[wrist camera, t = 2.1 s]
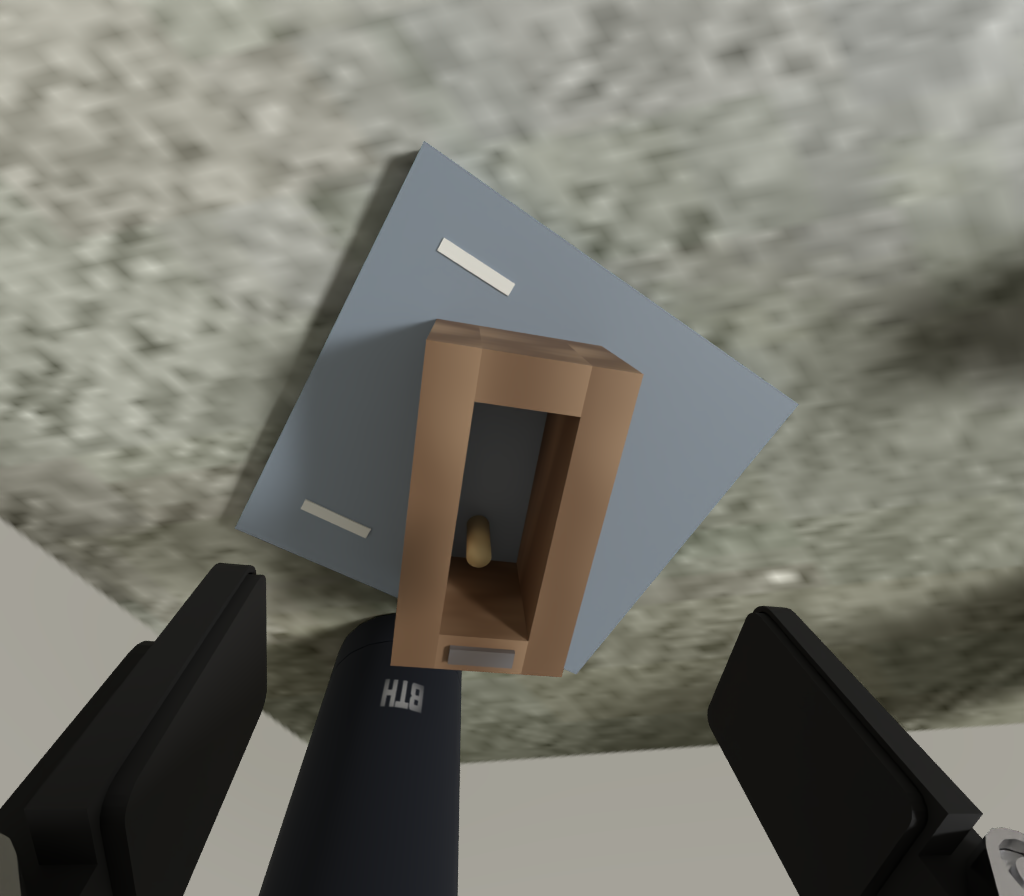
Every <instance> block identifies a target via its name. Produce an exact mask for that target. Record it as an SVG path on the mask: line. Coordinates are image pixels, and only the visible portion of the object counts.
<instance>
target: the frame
mask: <svg viewBox="0 0 1024 896" xmlns="http://www.w3.org/2000/svg"><path fill="white" fill-rule="evenodd" d="M643 375H644V374H642V373H641V372H640V371H638V370H637V369H635V368H634V367H632V366H631V365H629V364H628V363H626V362H625V361H623V360H622V359H620V358H619V357H617V356H616V355H614V354H613V353H611V352H610V351H608V350H607V349H605V348H604V347H602V346H599V345H593V344H587V343H581V342H575V341H569V340H563V339H557V338H551V337H545V336H539V335H533V334H527V333H521V332H515V331H508V330H502V329H496V328H490V327H484V326H478V325H472V324H466V323H460V322H454V321H448V320H442V319H437V320H436V322H435V324H434V325H433V327H432V329H431V331H430V333H429V335H428V337H427V339H426V346H425V355H424V364H423V373H422V383H421V392H420V401H419V410H418V419H417V428H416V437H415V446H414V455H413V465H412V474H411V483H410V492H409V501H408V510H407V519H406V528H405V537H404V547H403V556H402V565H401V574H400V583H399V592H398V601H397V610H396V619H395V629H394V638H393V647H392V656H391V665H390V666H405V667H420V668H435V669H449V670H464V671H479V672H494V673H508V674H523V675H538V676H553V677H562V673H563V670H564V666H565V662H566V659H567V655H568V651H569V647H570V644H571V640H572V636H573V633H574V629H575V625H576V622H577V618H578V614H579V611H580V607H581V603H582V600H583V596H584V592H585V589H586V585H587V581H588V577H589V574H590V570H591V566H592V563H593V559H594V555H595V552H596V548H597V544H598V541H599V537H600V533H601V530H602V526H603V522H604V518H605V515H606V511H607V507H608V504H609V500H610V496H611V493H612V489H613V485H614V482H615V478H616V474H617V471H618V467H619V463H620V459H621V456H622V452H623V448H624V445H625V441H626V437H627V434H628V430H629V426H630V423H631V419H632V415H633V412H634V408H635V404H636V400H637V397H638V393H639V389H640V386H641V382H642V378H643ZM474 402H480V403H487V404H493V405H500V406H507V407H514V408H521V409H528V410H535V411H542V412H548V413H547V417H546V422H545V427H544V432H543V437H542V442H541V446H540V451H539V456H538V461H537V466H536V471H535V475H534V480H533V485H532V490H531V495H530V500H529V504H528V509H527V514H526V519H525V524H524V529H523V533H522V538H521V543H520V548H519V553H518V558H517V562H516V563H513V562H503V561H493V560H491V561H490V562H489V564H488V565H486V566H484V567H480V568H477V567H473V566H471V565H470V564H469V563H468V562H467V559H466V558H463V557H453V556H451V553H452V546H453V540H454V533H455V526H456V520H457V513H458V507H459V500H460V493H461V487H462V480H463V473H464V467H465V460H466V453H467V447H468V440H469V434H470V427H471V420H472V414H473V407H474Z"/></svg>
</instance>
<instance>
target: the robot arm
mask: <svg viewBox="0 0 1024 896" xmlns="http://www.w3.org/2000/svg"><path fill="white" fill-rule="evenodd" d="M266 692H267V650H266V578H265V576H264V575H256V570H255V567H254V566H251V565H239V564H226V563H218V564H216V565H215V566H214V567H213V568H212V569H211V570H210V571H209V573H208V574H207V575H206V576H205V578H204V579H203V580H202V582H201V583H200V584H199V585H198V587H197V588H196V589H195V591H194V592H193V593H192V594H191V596H190V597H189V598H188V600H187V601H186V602H185V603H184V605H183V606H182V607H181V608H180V610H179V611H178V612H177V614H176V615H175V616H174V617H173V619H172V620H171V621H170V623H169V624H168V625H167V626H166V628H165V629H164V630H163V632H162V633H161V634H160V635H159V637H158V638H157V639H156V641H143V642H141V643H139V644H137V645H136V646H135V647H134V648H133V649H132V650H131V651H130V652H129V653H128V654H127V656H126V657H125V658H124V659H123V660H122V662H121V663H120V664H119V665H118V667H117V668H116V669H115V670H114V671H113V673H112V674H111V675H110V676H109V678H108V679H107V680H106V681H105V682H104V683H103V685H102V686H101V687H100V688H99V690H98V691H97V692H96V693H95V694H94V696H93V697H92V698H91V699H90V701H89V702H88V703H87V704H86V705H85V707H84V708H83V709H82V710H81V711H80V713H79V714H78V715H77V716H76V718H75V719H74V720H73V721H72V722H71V724H70V725H69V726H68V727H67V728H66V730H65V731H64V732H63V733H62V735H61V736H60V737H59V738H58V739H57V741H56V742H55V743H54V744H53V745H52V747H51V748H50V749H49V750H48V752H47V753H46V754H45V755H44V757H43V758H42V759H41V760H40V761H39V762H38V764H37V765H36V766H35V767H34V769H33V770H32V771H31V772H30V773H29V775H28V776H27V777H26V778H25V780H24V781H23V782H22V783H21V784H20V785H19V787H18V788H17V789H16V790H15V792H14V793H13V794H12V795H11V797H10V798H9V799H8V800H7V801H6V802H5V804H4V805H3V806H2V807H1V809H0V896H183V894H184V892H185V890H186V887H187V885H188V883H189V880H190V878H191V876H192V873H193V871H194V869H195V866H196V864H197V862H198V859H199V857H200V855H201V852H202V850H203V848H204V845H205V843H206V841H207V838H208V836H209V834H210V831H211V829H212V827H213V824H214V822H215V820H216V817H217V815H218V812H219V810H220V808H221V805H222V803H223V801H224V799H225V796H226V794H227V791H228V789H229V787H230V784H231V782H232V780H233V777H234V775H235V773H236V770H237V768H238V766H239V764H240V761H241V759H242V757H243V754H244V752H245V750H246V747H247V745H248V743H249V740H250V738H251V736H252V733H253V731H254V729H255V726H256V724H257V722H258V719H259V717H260V715H261V712H262V709H263V706H264V703H265V698H266ZM707 715H708V722H709V726H710V728H711V730H712V732H713V734H714V736H715V738H716V739H717V741H718V743H719V745H720V747H721V749H722V751H723V753H724V755H725V756H726V758H727V760H728V762H729V764H730V766H731V768H732V770H733V771H734V773H735V775H736V777H737V779H738V781H739V783H740V784H741V786H742V788H743V790H744V792H745V794H746V796H747V798H748V800H749V801H750V803H751V805H752V807H753V809H754V811H755V813H756V815H757V817H758V818H759V820H760V822H761V824H762V826H763V827H764V830H765V832H766V833H767V835H768V837H769V839H770V841H771V843H772V845H773V847H774V848H775V850H776V852H777V854H778V856H779V858H780V860H781V861H782V864H783V865H784V867H785V869H786V871H787V873H788V875H789V877H790V878H791V880H792V882H793V884H794V886H795V888H796V890H797V892H798V894H799V896H1024V834H1023V833H1021V832H1019V831H1015V830H1012V829H1007V828H1003V827H1001V828H992V829H991V830H990V831H989V832H988V833H987V834H986V835H985V837H984V838H983V839H982V838H981V837H980V836H979V835H978V834H977V833H976V831H975V830H974V829H973V828H972V827H973V826H974V825H975V823H976V822H977V821H978V820H979V818H980V817H981V815H982V814H983V813H982V812H981V811H980V810H979V809H978V808H977V807H976V806H975V805H974V804H973V803H972V802H971V801H970V799H969V798H968V797H967V796H966V795H965V794H964V793H963V792H962V791H961V790H960V789H959V788H958V787H957V786H956V785H955V784H954V782H953V781H952V780H951V779H950V778H949V777H948V776H947V775H946V774H945V773H944V772H943V771H942V770H941V768H940V767H938V765H937V764H935V762H934V761H933V760H932V759H931V758H930V757H929V756H928V755H927V754H926V752H925V751H924V750H923V749H922V748H921V747H920V746H919V745H918V744H917V743H916V742H915V741H914V740H913V739H912V737H911V736H909V734H908V733H907V732H906V731H905V730H904V729H903V728H902V727H901V726H900V725H899V724H898V723H897V721H896V720H895V719H894V718H893V717H892V716H891V715H890V714H889V713H888V712H887V711H886V710H885V709H884V708H883V707H882V705H881V704H880V703H879V702H878V701H877V700H876V699H875V698H874V697H873V696H872V695H871V694H870V693H869V692H868V691H867V689H866V688H865V687H864V686H863V685H862V684H861V683H860V682H859V681H858V680H857V679H856V678H855V677H854V676H853V674H852V673H851V672H850V671H849V670H848V669H847V668H846V667H845V666H844V665H843V664H842V663H841V662H840V661H839V660H838V658H837V657H836V656H835V655H834V654H833V653H832V652H831V651H830V650H829V649H828V648H827V647H826V646H825V645H824V644H823V642H822V641H821V640H820V639H819V638H818V637H817V636H816V635H815V634H814V633H813V632H812V631H811V630H810V629H809V628H808V626H807V625H806V624H805V623H804V622H803V621H802V620H801V619H800V618H799V617H798V616H797V615H796V614H795V613H794V612H793V611H792V610H791V609H788V608H782V607H769V606H759V607H757V608H756V609H755V610H754V611H753V613H750V614H749V615H748V616H747V618H746V620H745V622H744V624H743V627H742V629H741V631H740V634H739V636H738V639H737V641H736V643H735V646H734V648H733V650H732V653H731V655H730V657H729V660H728V662H727V664H726V667H725V669H724V672H723V674H722V676H721V679H720V681H719V683H718V686H717V688H716V690H715V693H714V695H713V698H712V700H711V702H710V705H709V707H708V714H707Z"/></svg>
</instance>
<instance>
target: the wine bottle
mask: <svg viewBox="0 0 1024 896" xmlns="http://www.w3.org/2000/svg"><path fill="white" fill-rule="evenodd" d="M395 619H396V614H391V615H385V616H380V617H376V618H373V619H371V620H369V621H367V622H365V623H363V624H361V625H359V626H358V627H357V628H356V629H355V630H354V631H352V632H351V633H350V634H349V635H348V636H347V637H346V639H345V641H344V643H343V645H342V647H341V649H340V651H339V653H338V656H337V659H336V662H335V665H334V668H333V671H332V674H331V677H330V681H329V683H328V687H327V690H326V693H325V696H324V699H323V702H322V705H321V708H320V711H319V714H318V717H317V720H316V723H315V726H314V729H313V732H312V735H311V738H310V741H309V744H308V747H307V750H306V753H305V756H304V760H303V763H302V766H301V769H300V772H299V775H298V778H297V781H296V784H295V787H294V790H293V793H292V796H291V799H290V802H289V805H288V808H287V811H286V814H285V817H284V820H283V823H282V826H281V829H280V833H279V835H278V838H277V841H276V844H275V847H274V851H273V854H272V857H271V860H270V863H269V866H268V869H267V872H266V875H265V878H264V881H263V884H262V887H261V890H260V893H259V896H457V893H458V841H459V786H460V782H459V781H460V731H461V675H462V670H449V669H435V668H420V667H405V666H390V665H391V656H392V647H393V638H394V629H395Z"/></svg>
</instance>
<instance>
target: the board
mask: <svg viewBox="0 0 1024 896" xmlns="http://www.w3.org/2000/svg"><path fill="white" fill-rule="evenodd" d="M437 319H442V320H448V321H454V322H460V323H466V324H472V325H478V326H484V327H490V328H496V329H502V330H508V331H515V332H521V333H527V334H533V335H539V336H545V337H551V338H557V339H563V340H569V341H575V342H581V343H587V344H593V345H599V346H602V347H604V348H605V349H607V350H608V351H610V352H611V353H613V354H614V355H616V356H617V357H619V358H620V359H622V360H623V361H625V362H626V363H628V364H629V365H631V366H632V367H634V368H635V369H637V370H638V371H640V372H641V373H642V374H644V375H643V378H642V382H641V386H640V389H639V393H638V397H637V400H636V404H635V408H634V412H633V415H632V419H631V423H630V426H629V430H628V434H627V437H626V441H625V445H624V448H623V452H622V456H621V459H620V463H619V467H618V471H617V474H616V478H615V482H614V485H613V489H612V493H611V496H610V500H609V504H608V507H607V511H606V515H605V518H604V522H603V526H602V530H601V533H600V537H599V541H598V544H597V548H596V552H595V555H594V559H593V563H592V566H591V570H590V574H589V577H588V581H587V585H586V589H585V592H584V596H583V600H582V603H581V607H580V611H579V614H578V618H577V622H576V625H575V629H574V633H573V636H572V640H571V644H570V647H569V651H568V655H567V659H566V662H565V666H564V669H565V670H568V671H570V672H572V673H575V674H577V673H578V671H579V670H580V669H581V668H582V666H583V665H584V664H585V663H586V662H587V660H588V659H589V658H590V657H591V656H592V654H593V653H594V652H595V651H596V650H597V648H598V647H599V646H600V645H601V643H602V642H603V641H604V640H605V639H606V637H607V636H608V635H609V634H610V633H611V631H612V630H613V629H614V628H615V626H616V625H617V624H618V623H619V622H620V620H621V619H622V618H623V617H624V616H625V614H626V613H627V612H628V611H629V610H630V608H631V607H632V606H633V605H634V603H635V602H636V601H637V600H638V599H639V597H640V596H641V595H642V594H643V593H644V591H645V590H646V589H647V588H648V586H649V585H650V584H651V583H652V582H653V580H654V579H655V578H656V577H657V576H658V574H659V573H660V572H661V571H662V570H663V568H664V567H665V566H666V565H667V563H668V562H669V561H670V560H671V559H672V557H673V556H674V555H675V554H676V553H677V551H678V550H679V549H680V548H681V546H682V545H683V544H684V543H685V542H686V540H687V539H688V538H689V537H690V536H691V534H692V533H693V532H694V531H695V529H696V528H697V527H698V526H699V525H700V523H701V522H702V521H703V520H704V519H705V517H706V516H707V515H708V514H709V513H710V511H711V510H712V509H713V508H714V506H715V505H716V504H717V503H718V502H719V500H720V499H721V498H722V497H723V496H724V494H725V493H726V492H727V491H728V489H729V488H730V487H731V486H732V485H733V483H734V482H735V481H736V480H737V479H738V477H739V476H740V475H741V474H742V473H743V471H744V470H745V469H746V468H747V466H748V465H749V464H750V463H751V462H752V460H753V459H754V458H755V457H756V456H757V454H758V453H759V452H760V451H761V449H762V448H763V447H764V446H765V445H766V443H767V442H768V441H769V440H770V439H771V437H772V436H773V435H774V434H775V433H776V431H777V430H778V429H779V428H780V426H781V425H782V424H783V423H784V422H785V420H786V419H787V418H788V417H789V416H790V414H791V413H792V412H793V411H794V409H795V408H796V407H797V406H798V405H799V404H797V403H796V402H795V401H793V400H792V399H790V398H789V397H788V396H786V395H785V394H783V393H782V392H780V391H779V390H778V389H776V388H775V387H773V386H772V385H770V384H769V383H768V382H766V381H765V380H763V379H762V378H761V377H759V376H758V375H756V374H755V373H753V372H752V371H751V370H749V369H748V368H746V367H745V366H743V365H742V364H741V363H739V362H738V361H736V360H735V359H734V358H732V357H731V356H729V355H728V354H726V353H725V352H724V351H722V350H721V349H719V348H718V347H716V346H715V345H714V344H712V343H711V342H709V341H708V340H707V339H705V338H704V337H702V336H701V335H699V334H698V333H697V332H695V331H694V330H692V329H691V328H689V327H688V326H687V325H685V324H684V323H682V322H681V321H679V320H678V319H677V318H675V317H674V316H672V315H671V314H670V313H668V312H667V311H665V310H664V309H662V308H661V307H660V306H658V305H657V304H655V303H654V302H652V301H651V300H650V299H648V298H647V297H645V296H644V295H643V294H641V293H640V292H638V291H637V290H635V289H634V288H633V287H631V286H630V285H628V284H627V283H625V282H624V281H623V280H621V279H620V278H618V277H617V276H616V275H614V274H613V273H611V272H610V271H608V270H607V269H606V268H604V267H603V266H601V265H600V264H598V263H597V262H596V261H594V260H593V259H591V258H590V257H589V256H587V255H586V254H584V253H583V252H581V251H580V250H579V249H577V248H576V247H574V246H573V245H571V244H570V243H569V242H567V241H566V240H564V239H563V238H562V237H560V236H559V235H557V234H556V233H554V232H553V231H552V230H550V229H549V228H547V227H546V226H544V225H543V224H542V223H540V222H539V221H537V220H536V219H535V218H533V217H532V216H530V215H529V214H527V213H526V212H525V211H523V210H522V209H520V208H519V207H517V206H516V205H515V204H513V203H512V202H510V201H509V200H508V199H506V198H505V197H503V196H502V195H500V194H499V193H498V192H496V191H495V190H493V189H492V188H490V187H489V186H488V185H486V184H485V183H483V182H482V181H481V180H479V179H478V178H476V177H475V176H473V175H472V174H471V173H469V172H468V171H466V170H465V169H463V168H462V167H461V166H459V165H458V164H456V163H455V162H453V161H452V160H451V159H449V158H448V157H446V156H445V155H444V154H442V153H441V152H439V151H438V150H436V149H435V148H434V147H432V146H431V145H429V144H428V143H426V142H425V141H424V142H423V144H422V146H421V149H420V151H419V153H418V155H417V157H416V159H415V161H414V163H413V165H412V167H411V169H410V171H409V173H408V175H407V177H406V179H405V181H404V183H403V185H402V187H401V189H400V191H399V193H398V196H397V198H396V200H395V202H394V204H393V206H392V208H391V210H390V212H389V214H388V216H387V218H386V220H385V222H384V224H383V226H382V228H381V230H380V232H379V234H378V236H377V238H376V241H375V243H374V245H373V247H372V249H371V251H370V253H369V255H368V257H367V259H366V261H365V263H364V265H363V267H362V269H361V271H360V273H359V275H358V277H357V279H356V281H355V283H354V286H353V288H352V290H351V292H350V294H349V296H348V298H347V300H346V302H345V304H344V306H343V308H342V310H341V312H340V314H339V316H338V318H337V320H336V322H335V324H334V326H333V328H332V331H331V333H330V335H329V337H328V339H327V341H326V343H325V345H324V347H323V349H322V351H321V353H320V355H319V357H318V359H317V361H316V363H315V365H314V367H313V369H312V371H311V373H310V376H309V378H308V380H307V382H306V384H305V386H304V388H303V390H302V392H301V394H300V396H299V398H298V400H297V402H296V404H295V406H294V408H293V410H292V412H291V414H290V416H289V418H288V420H287V423H286V425H285V427H284V429H283V431H282V433H281V435H280V437H279V439H278V441H277V443H276V445H275V447H274V449H273V451H272V453H271V455H270V457H269V459H268V461H267V463H266V465H265V468H264V470H263V472H262V474H261V476H260V478H259V480H258V482H257V484H256V486H255V488H254V490H253V492H252V494H251V496H250V498H249V500H248V502H247V504H246V506H245V508H244V510H243V513H242V515H241V517H240V519H239V521H238V523H237V525H236V527H235V529H237V530H240V531H242V532H244V533H247V534H249V535H251V536H254V537H256V538H258V539H261V540H263V541H265V542H268V543H270V544H272V545H275V546H277V547H279V548H282V549H284V550H287V551H289V552H291V553H294V554H296V555H298V556H301V557H303V558H305V559H308V560H310V561H312V562H315V563H317V564H319V565H322V566H324V567H326V568H329V569H331V570H333V571H336V572H338V573H340V574H343V575H345V576H347V577H350V578H352V579H354V580H357V581H359V582H361V583H364V584H366V585H369V586H371V587H373V588H376V589H378V590H380V591H383V592H385V593H387V594H390V595H392V596H394V597H397V598H398V592H399V583H400V574H401V565H402V556H403V547H404V537H405V528H406V519H407V510H408V501H409V492H410V483H411V474H412V465H413V455H414V446H415V437H416V428H417V419H418V410H419V401H420V392H421V383H422V373H423V364H424V355H425V346H426V339H427V337H428V335H429V333H430V331H431V329H432V327H433V325H434V324H435V322H436V320H437ZM547 413H548V412H542V411H535V410H528V409H521V408H514V407H507V406H500V405H493V404H487V403H480V402H474V407H473V414H472V420H471V427H470V434H469V440H468V447H467V453H466V460H465V467H464V473H463V480H462V487H461V493H460V500H459V507H458V513H457V520H456V526H455V533H454V540H453V546H452V553H451V556H453V557H463V558H466V559H467V562H468V563H469V564H470V565H471V566H473V567H477V568H480V567H484V566H486V565H488V564H489V562H490V561H491V560H493V561H503V562H513V563H516V562H517V558H518V553H519V548H520V543H521V538H522V533H523V529H524V524H525V519H526V514H527V509H528V504H529V500H530V495H531V490H532V485H533V480H534V475H535V471H536V466H537V461H538V456H539V451H540V446H541V442H542V437H543V432H544V427H545V422H546V417H547Z"/></svg>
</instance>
